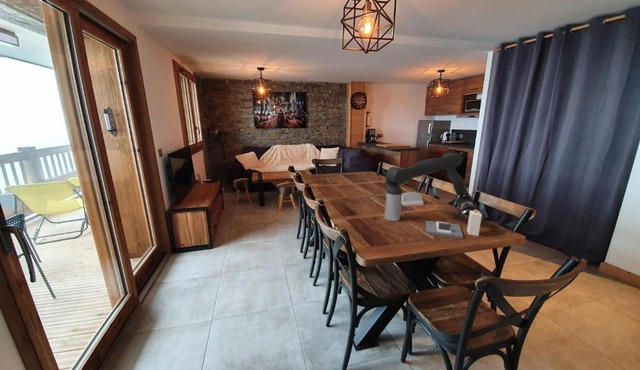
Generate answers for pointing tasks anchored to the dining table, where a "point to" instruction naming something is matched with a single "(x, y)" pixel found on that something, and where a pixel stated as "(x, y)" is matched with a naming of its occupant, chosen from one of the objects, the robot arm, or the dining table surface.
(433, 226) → the mounting plate
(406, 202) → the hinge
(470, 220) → the module
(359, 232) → the dining table surface
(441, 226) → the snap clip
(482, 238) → the dining table surface
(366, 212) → the dining table surface
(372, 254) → the dining table surface
